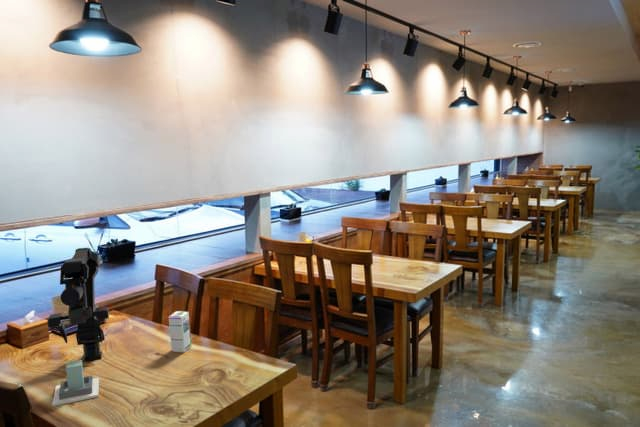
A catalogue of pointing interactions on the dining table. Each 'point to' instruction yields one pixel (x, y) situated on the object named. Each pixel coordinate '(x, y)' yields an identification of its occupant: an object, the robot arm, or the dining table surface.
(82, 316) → the robot arm
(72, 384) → the teal green block
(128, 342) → the dining table surface
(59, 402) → the white grey square base
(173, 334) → the syrup box
